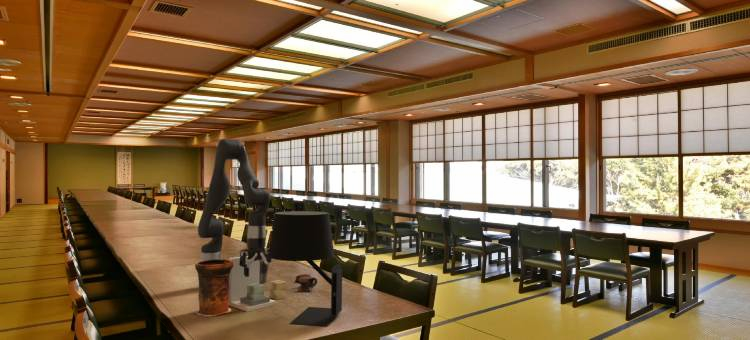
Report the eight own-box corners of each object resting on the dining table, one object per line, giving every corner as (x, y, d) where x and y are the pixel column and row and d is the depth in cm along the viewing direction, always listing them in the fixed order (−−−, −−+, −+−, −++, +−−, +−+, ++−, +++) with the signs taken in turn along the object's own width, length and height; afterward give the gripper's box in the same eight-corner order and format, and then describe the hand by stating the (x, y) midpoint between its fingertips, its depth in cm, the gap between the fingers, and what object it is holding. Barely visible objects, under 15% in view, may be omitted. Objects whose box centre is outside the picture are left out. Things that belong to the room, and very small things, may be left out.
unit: (227, 304, 188) (228, 258, 188) (255, 298, 199) (256, 254, 199) (247, 311, 179) (248, 262, 179) (276, 304, 189) (276, 258, 190)
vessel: (210, 319, 168) (211, 265, 169) (186, 313, 175) (187, 262, 176) (240, 310, 180) (241, 260, 181) (217, 305, 188) (217, 257, 188)
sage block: (246, 302, 187) (247, 285, 187) (256, 299, 191) (257, 283, 191) (254, 304, 184) (254, 287, 184) (264, 301, 188) (264, 285, 188)
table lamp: (329, 328, 160) (331, 216, 161) (255, 323, 165) (257, 214, 166) (346, 308, 185) (347, 211, 186) (282, 304, 190) (283, 209, 191)
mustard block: (269, 297, 201) (270, 281, 201) (278, 295, 205) (279, 279, 205) (276, 299, 198) (277, 283, 198) (285, 297, 202) (286, 281, 202)
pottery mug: (291, 292, 212) (290, 275, 216) (299, 297, 219) (299, 280, 224) (314, 287, 209) (313, 270, 214) (322, 292, 217) (321, 275, 221)
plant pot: (277, 280, 233) (278, 249, 234) (254, 286, 220) (254, 253, 220) (255, 276, 242) (256, 246, 242) (231, 282, 228) (232, 250, 229)
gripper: (265, 233, 196) (264, 271, 195) (236, 236, 185) (235, 276, 184) (275, 235, 191) (274, 273, 191) (247, 238, 180) (246, 279, 180)
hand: (255, 274), depth 188 cm, fingers open, 8 cm apart
